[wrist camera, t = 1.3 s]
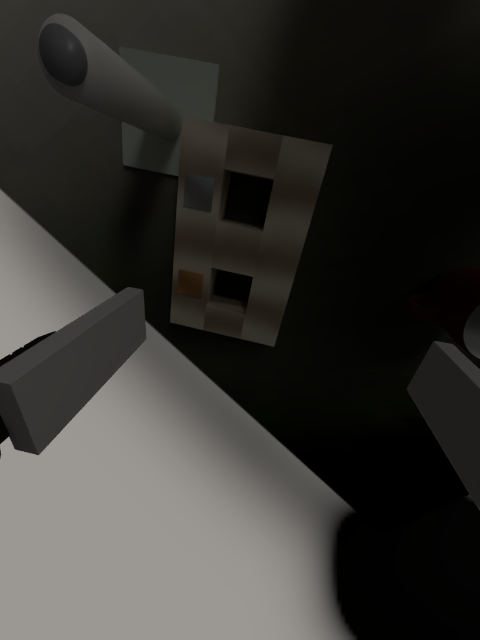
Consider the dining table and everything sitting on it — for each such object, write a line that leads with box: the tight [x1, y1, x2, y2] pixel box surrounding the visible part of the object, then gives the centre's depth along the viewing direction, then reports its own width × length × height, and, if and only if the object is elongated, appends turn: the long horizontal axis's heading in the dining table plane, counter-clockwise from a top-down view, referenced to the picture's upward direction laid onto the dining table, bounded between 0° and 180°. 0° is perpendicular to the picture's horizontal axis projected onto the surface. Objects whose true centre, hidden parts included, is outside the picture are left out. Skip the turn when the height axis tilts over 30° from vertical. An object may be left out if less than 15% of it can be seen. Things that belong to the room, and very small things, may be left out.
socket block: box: [170, 116, 333, 347], centre depth 30 cm, size 22×14×4 cm, turn 169°
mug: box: [405, 266, 480, 360], centre depth 26 cm, size 10×8×10 cm
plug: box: [38, 14, 182, 140], centre depth 20 cm, size 4×4×15 cm
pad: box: [119, 47, 220, 176], centre depth 27 cm, size 10×10×1 cm
